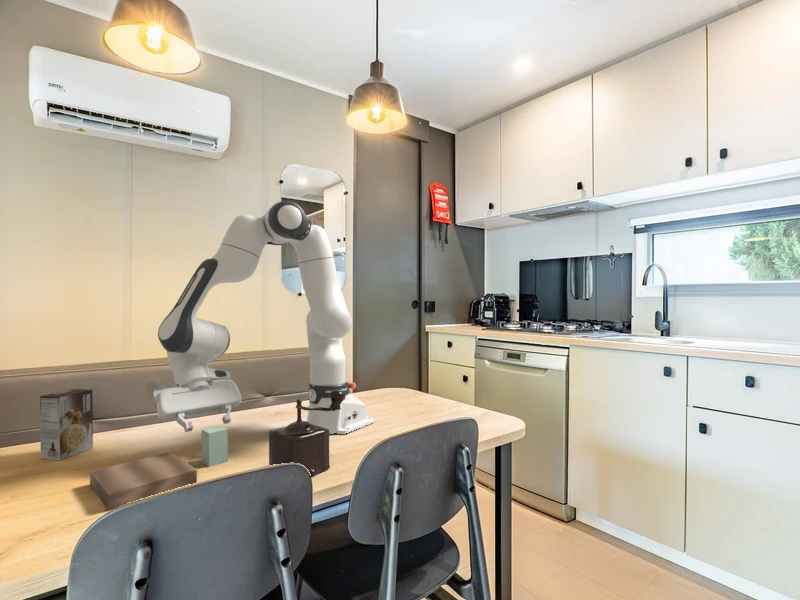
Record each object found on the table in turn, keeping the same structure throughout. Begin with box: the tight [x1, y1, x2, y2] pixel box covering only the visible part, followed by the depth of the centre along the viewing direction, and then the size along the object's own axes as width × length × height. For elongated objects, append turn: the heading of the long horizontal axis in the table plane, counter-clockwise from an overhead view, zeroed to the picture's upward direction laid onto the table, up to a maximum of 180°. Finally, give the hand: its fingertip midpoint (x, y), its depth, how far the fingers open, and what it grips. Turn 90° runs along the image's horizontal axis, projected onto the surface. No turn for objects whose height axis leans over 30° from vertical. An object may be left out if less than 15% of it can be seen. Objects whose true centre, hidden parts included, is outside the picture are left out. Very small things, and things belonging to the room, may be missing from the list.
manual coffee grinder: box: [268, 390, 346, 477], centre depth 99 cm, size 16×11×18 cm
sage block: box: [201, 425, 229, 468], centre depth 102 cm, size 4×4×8 cm
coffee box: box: [39, 388, 94, 461], centre depth 108 cm, size 9×6×16 cm
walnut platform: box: [89, 451, 198, 512], centre depth 89 cm, size 16×16×3 cm
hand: (209, 426), depth 104 cm, fingers open, 8 cm apart
